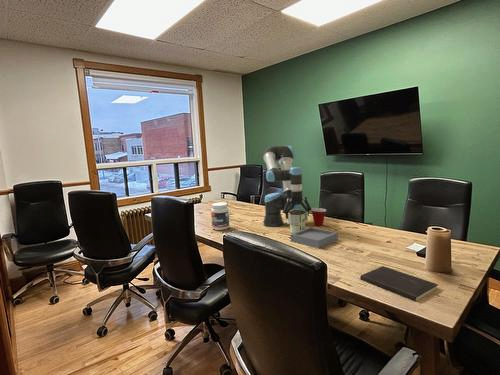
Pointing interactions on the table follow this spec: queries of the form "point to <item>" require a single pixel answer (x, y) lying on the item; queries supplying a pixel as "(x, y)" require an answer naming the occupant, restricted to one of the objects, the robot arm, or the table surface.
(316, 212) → the plastic cup
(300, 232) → the grey square tray
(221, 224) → the supplement tub
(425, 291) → the hardcover book
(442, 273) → the table surface
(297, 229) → the coffee can
